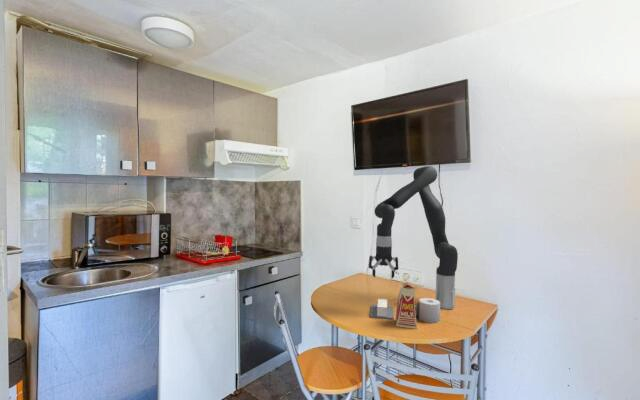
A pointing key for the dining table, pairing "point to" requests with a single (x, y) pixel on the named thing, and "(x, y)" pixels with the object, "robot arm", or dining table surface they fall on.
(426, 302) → the toilet tissue
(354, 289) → the dining table surface
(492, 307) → the dining table surface
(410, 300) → the milk carton
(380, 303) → the block
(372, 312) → the mat
